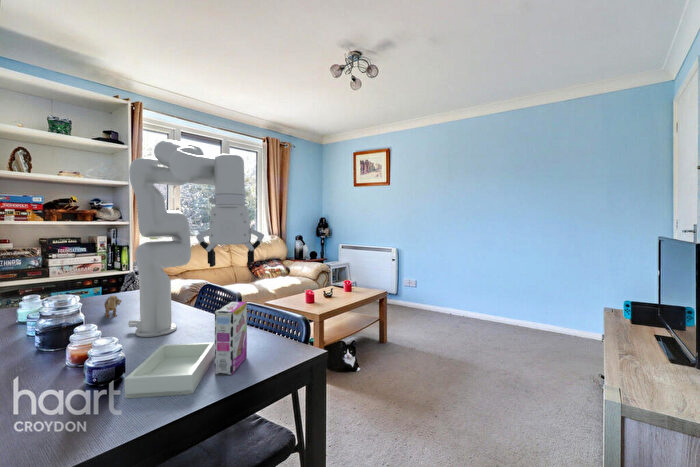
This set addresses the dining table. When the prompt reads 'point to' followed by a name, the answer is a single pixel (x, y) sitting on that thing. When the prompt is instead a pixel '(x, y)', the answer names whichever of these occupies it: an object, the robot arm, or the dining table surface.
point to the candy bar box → (230, 337)
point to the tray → (170, 370)
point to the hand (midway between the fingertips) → (231, 265)
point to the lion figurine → (111, 305)
